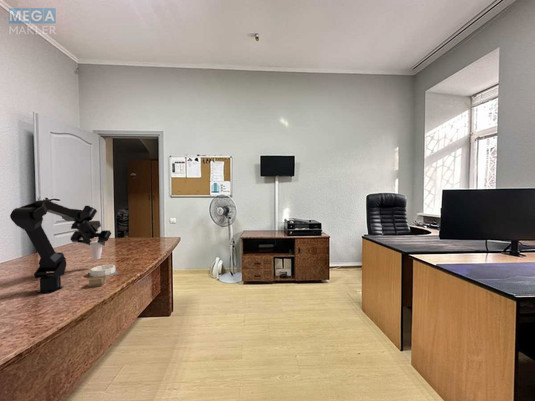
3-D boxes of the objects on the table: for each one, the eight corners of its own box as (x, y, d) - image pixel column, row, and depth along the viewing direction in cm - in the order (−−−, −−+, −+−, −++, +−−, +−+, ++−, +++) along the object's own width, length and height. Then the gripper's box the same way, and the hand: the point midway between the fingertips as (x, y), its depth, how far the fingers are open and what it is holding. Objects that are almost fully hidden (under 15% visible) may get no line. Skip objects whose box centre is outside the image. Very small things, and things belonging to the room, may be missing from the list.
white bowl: (105, 276, 120) (105, 270, 120) (85, 276, 121) (85, 270, 121) (119, 270, 131) (119, 264, 131) (101, 270, 131) (101, 264, 131)
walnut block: (101, 287, 107) (101, 278, 107) (89, 288, 106) (88, 279, 106) (106, 283, 112) (106, 275, 112) (94, 284, 111) (93, 276, 111)
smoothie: (102, 256, 140) (102, 233, 140) (104, 258, 135) (104, 234, 135) (88, 258, 135) (88, 234, 135) (90, 260, 131) (90, 235, 131)
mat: (118, 274, 125) (118, 273, 125) (90, 279, 117) (90, 278, 117) (114, 269, 134) (114, 268, 134) (88, 273, 126) (88, 273, 126)
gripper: (109, 216, 132) (120, 233, 143) (74, 216, 131) (88, 233, 142) (100, 232, 124) (112, 249, 135) (62, 232, 123) (78, 249, 134)
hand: (98, 244), depth 136 cm, fingers closed on smoothie, 6 cm apart
